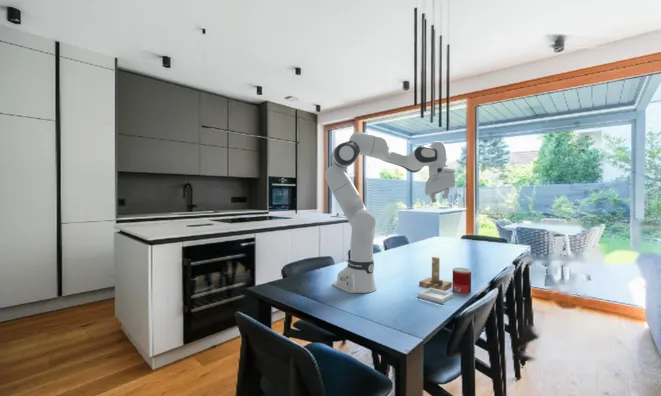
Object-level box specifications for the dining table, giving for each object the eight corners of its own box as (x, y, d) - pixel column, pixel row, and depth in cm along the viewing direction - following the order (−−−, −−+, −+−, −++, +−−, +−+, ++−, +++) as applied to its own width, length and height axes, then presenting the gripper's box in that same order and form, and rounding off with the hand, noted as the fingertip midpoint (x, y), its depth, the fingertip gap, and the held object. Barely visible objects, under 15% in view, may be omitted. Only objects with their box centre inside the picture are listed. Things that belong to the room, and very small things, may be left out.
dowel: (430, 285, 148) (430, 257, 147) (433, 284, 150) (433, 256, 150) (437, 287, 145) (437, 258, 145) (440, 285, 148) (440, 257, 147)
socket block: (419, 287, 148) (419, 277, 148) (428, 282, 155) (429, 273, 155) (442, 293, 140) (442, 282, 140) (451, 288, 147) (451, 278, 147)
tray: (418, 298, 133) (418, 292, 133) (430, 292, 141) (430, 287, 141) (442, 305, 125) (442, 299, 125) (453, 298, 133) (453, 293, 133)
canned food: (472, 296, 136) (473, 272, 136) (454, 295, 138) (454, 271, 137) (468, 290, 143) (468, 268, 143) (451, 289, 145) (451, 267, 145)
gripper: (421, 178, 157) (422, 204, 154) (444, 166, 138) (446, 195, 135) (432, 179, 159) (433, 205, 156) (456, 168, 139) (458, 196, 136)
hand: (439, 200), depth 145 cm, fingers open, 8 cm apart
